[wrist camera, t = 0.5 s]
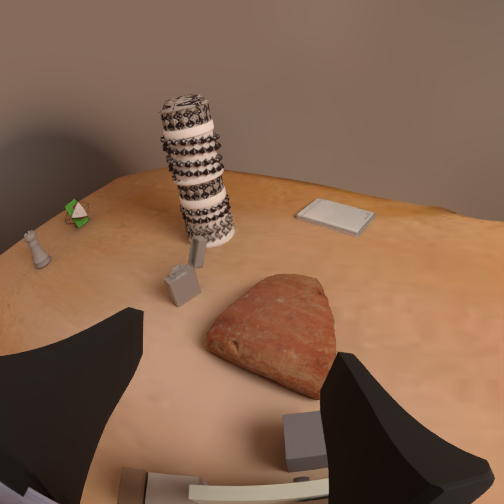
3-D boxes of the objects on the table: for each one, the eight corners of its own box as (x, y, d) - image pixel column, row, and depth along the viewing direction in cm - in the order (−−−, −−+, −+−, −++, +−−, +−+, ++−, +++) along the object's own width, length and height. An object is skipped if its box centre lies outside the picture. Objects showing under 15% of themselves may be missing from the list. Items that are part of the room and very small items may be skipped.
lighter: (178, 307, 42) (160, 261, 37) (172, 301, 43) (154, 256, 38) (218, 281, 45) (206, 235, 40) (211, 277, 46) (199, 231, 42)
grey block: (332, 466, 22) (338, 452, 19) (288, 472, 22) (285, 459, 19) (327, 429, 25) (331, 408, 22) (285, 434, 25) (282, 415, 22)
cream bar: (328, 502, 19) (336, 492, 15) (210, 508, 19) (188, 499, 16) (326, 482, 20) (333, 467, 17) (211, 489, 21) (190, 474, 17)
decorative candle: (177, 239, 56) (141, 106, 42) (213, 217, 61) (188, 93, 47) (208, 255, 51) (173, 102, 36) (247, 229, 56) (224, 89, 42)
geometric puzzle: (58, 224, 68) (59, 201, 62) (74, 210, 73) (77, 188, 68) (77, 238, 68) (79, 217, 63) (93, 224, 74) (97, 202, 68)
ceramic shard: (376, 281, 33) (321, 397, 25) (365, 311, 38) (315, 413, 30) (266, 240, 40) (193, 331, 32) (268, 272, 44) (206, 356, 36)
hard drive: (375, 212, 54) (318, 196, 61) (357, 232, 49) (296, 213, 56) (375, 219, 55) (318, 204, 62) (357, 240, 50) (296, 221, 57)
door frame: (384, 507, 17) (405, 497, 14) (137, 515, 19) (104, 504, 15) (377, 467, 21) (394, 447, 17) (141, 478, 22) (111, 459, 19)
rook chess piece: (55, 258, 58) (40, 227, 53) (42, 270, 55) (26, 239, 50) (45, 256, 59) (30, 227, 55) (32, 268, 56) (17, 238, 51)
